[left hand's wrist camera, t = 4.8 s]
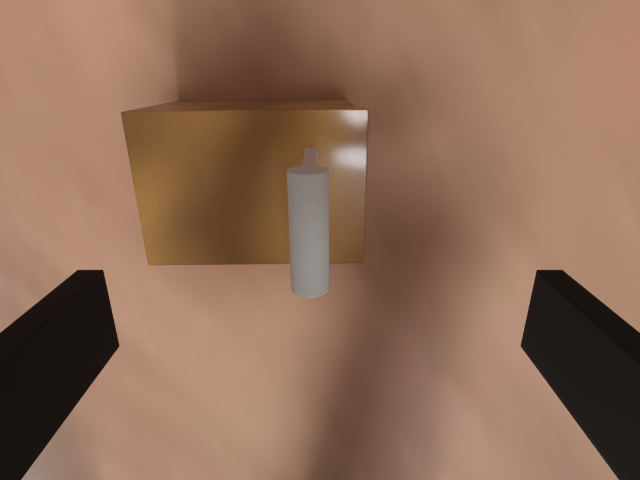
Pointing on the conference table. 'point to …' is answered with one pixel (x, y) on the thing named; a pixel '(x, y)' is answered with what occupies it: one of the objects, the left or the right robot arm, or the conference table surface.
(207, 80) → the conference table surface
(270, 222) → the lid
